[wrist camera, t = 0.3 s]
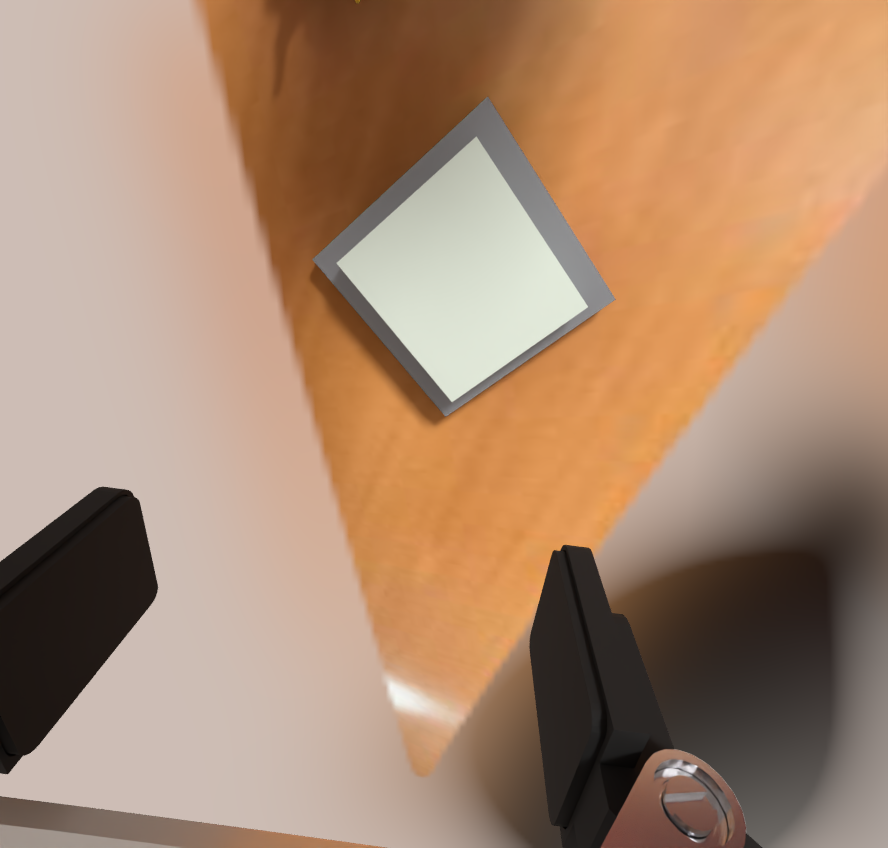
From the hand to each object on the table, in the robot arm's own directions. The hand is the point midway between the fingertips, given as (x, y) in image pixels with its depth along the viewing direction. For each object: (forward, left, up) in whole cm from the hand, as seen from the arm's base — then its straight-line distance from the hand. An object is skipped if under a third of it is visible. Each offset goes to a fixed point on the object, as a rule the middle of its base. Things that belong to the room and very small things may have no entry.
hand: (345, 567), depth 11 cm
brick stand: (-3, 0, -30) cm, 31 cm away
